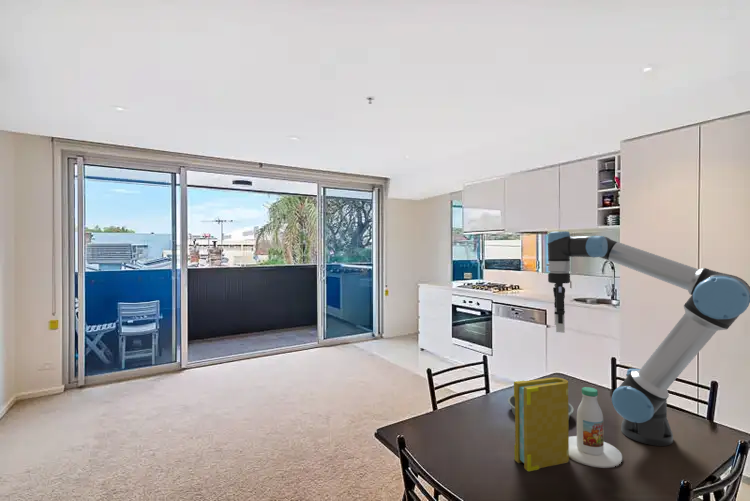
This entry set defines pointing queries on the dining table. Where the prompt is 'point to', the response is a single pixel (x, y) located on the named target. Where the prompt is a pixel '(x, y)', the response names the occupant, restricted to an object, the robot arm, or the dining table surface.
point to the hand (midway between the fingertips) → (559, 328)
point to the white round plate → (605, 460)
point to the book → (541, 422)
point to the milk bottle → (590, 423)
